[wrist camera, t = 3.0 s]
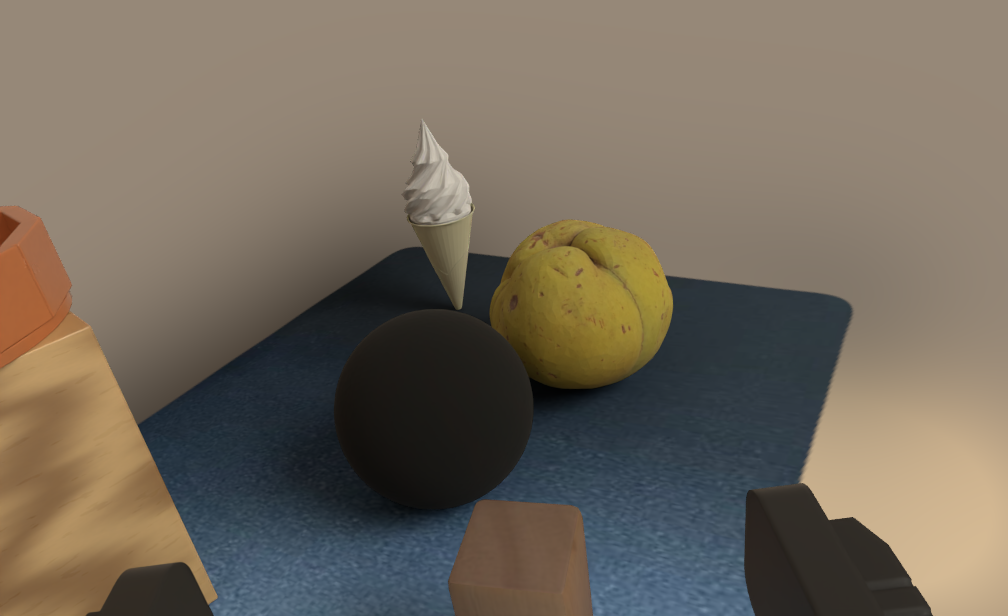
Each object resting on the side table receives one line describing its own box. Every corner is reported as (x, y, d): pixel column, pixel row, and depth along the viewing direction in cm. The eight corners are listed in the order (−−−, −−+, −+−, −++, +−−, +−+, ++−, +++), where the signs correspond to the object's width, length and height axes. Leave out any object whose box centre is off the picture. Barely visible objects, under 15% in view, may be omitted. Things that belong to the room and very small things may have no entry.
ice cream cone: (414, 320, 56) (371, 128, 48) (447, 290, 59) (412, 108, 52) (471, 328, 53) (435, 128, 46) (501, 296, 57) (472, 107, 50)
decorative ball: (576, 504, 36) (557, 335, 31) (386, 585, 33) (334, 412, 29) (499, 404, 45) (475, 258, 40) (342, 461, 42) (296, 312, 37)
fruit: (684, 331, 49) (682, 193, 44) (661, 442, 39) (655, 280, 35) (529, 323, 53) (512, 195, 48) (473, 422, 43) (445, 274, 38)
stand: (-16, 770, 28) (-261, 477, 21) (-71, 633, 34) (-272, 374, 27) (218, 597, 34) (90, 325, 27) (134, 508, 40) (14, 270, 33)
